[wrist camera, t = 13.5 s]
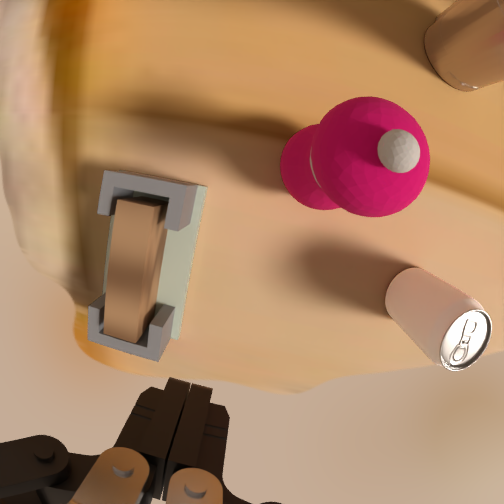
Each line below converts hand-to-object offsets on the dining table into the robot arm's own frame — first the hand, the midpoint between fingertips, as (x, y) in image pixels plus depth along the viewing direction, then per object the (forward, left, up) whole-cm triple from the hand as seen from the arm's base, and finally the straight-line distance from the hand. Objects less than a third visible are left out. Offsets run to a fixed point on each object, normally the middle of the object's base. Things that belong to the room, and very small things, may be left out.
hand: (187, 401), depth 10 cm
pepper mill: (-10, +6, -23) cm, 25 cm away
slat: (+2, -8, -21) cm, 23 cm away
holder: (+2, -8, -22) cm, 24 cm away
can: (0, +20, -23) cm, 30 cm away
